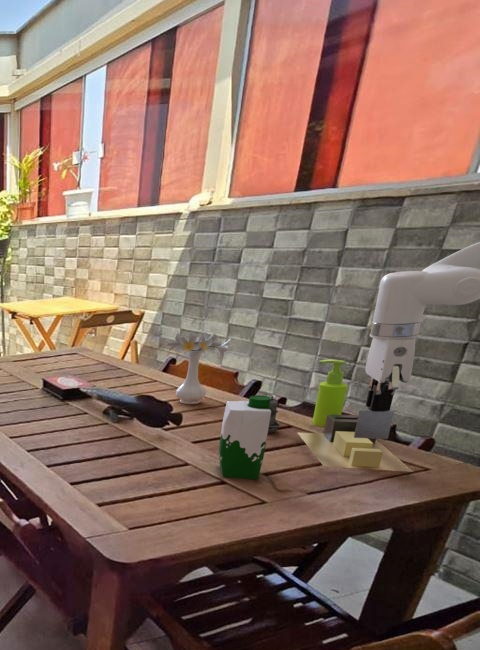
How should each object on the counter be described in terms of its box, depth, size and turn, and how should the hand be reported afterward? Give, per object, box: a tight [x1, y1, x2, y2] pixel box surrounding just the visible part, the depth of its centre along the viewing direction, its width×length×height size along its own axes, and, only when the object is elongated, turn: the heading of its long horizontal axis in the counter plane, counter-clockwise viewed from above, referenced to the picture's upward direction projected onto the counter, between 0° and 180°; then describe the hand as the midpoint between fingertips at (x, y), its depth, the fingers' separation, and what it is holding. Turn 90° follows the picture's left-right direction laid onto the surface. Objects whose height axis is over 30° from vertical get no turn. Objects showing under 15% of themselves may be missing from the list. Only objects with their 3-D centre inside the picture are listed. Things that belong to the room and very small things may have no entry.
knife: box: [354, 385, 395, 440], centre depth 115 cm, size 6×2×13 cm, turn 64°
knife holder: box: [322, 414, 377, 444], centre depth 131 cm, size 9×6×6 cm, turn 64°
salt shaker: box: [268, 395, 281, 434], centre depth 141 cm, size 6×6×12 cm
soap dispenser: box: [311, 358, 349, 428], centre depth 141 cm, size 6×7×20 cm
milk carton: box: [218, 394, 271, 481], centre depth 121 cm, size 9×9×20 cm
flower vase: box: [167, 331, 232, 405], centre depth 173 cm, size 13×18×25 cm
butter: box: [333, 431, 373, 457], centre depth 125 cm, size 5×8×4 cm, turn 154°
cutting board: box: [297, 432, 414, 473], centre depth 127 cm, size 16×24×1 cm, turn 154°
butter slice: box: [349, 448, 383, 467], centre depth 118 cm, size 5×2×4 cm, turn 64°
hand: (377, 408), depth 114 cm, fingers closed on knife, 2 cm apart
